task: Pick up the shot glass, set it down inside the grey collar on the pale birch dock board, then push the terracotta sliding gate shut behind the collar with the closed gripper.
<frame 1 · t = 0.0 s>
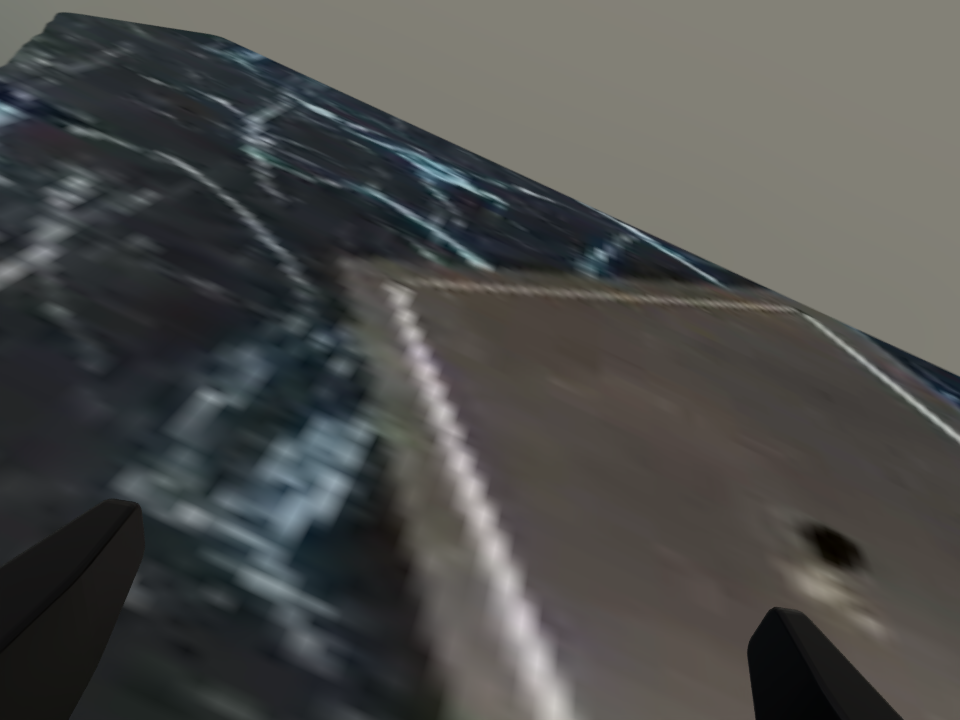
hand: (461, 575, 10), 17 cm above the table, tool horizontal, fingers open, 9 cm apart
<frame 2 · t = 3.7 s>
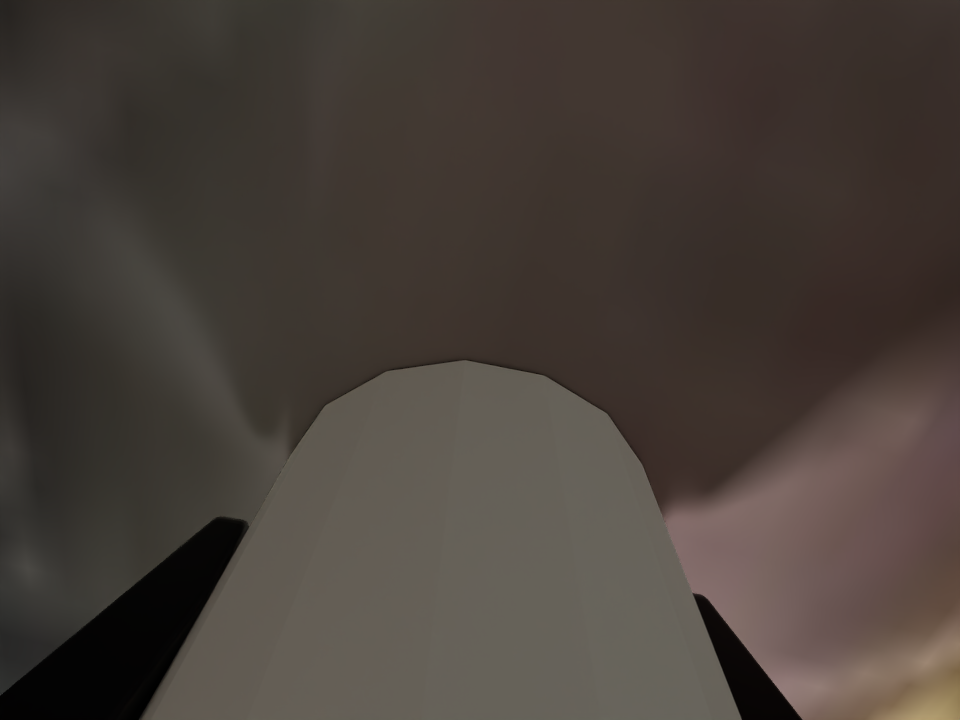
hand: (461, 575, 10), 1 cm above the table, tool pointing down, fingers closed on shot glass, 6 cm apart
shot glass: (466, 503, 11), on the table, touching gripper
when the fingers open (4 cm above the table, at t = 8.2 s): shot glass drops 2 cm, resting on dock.
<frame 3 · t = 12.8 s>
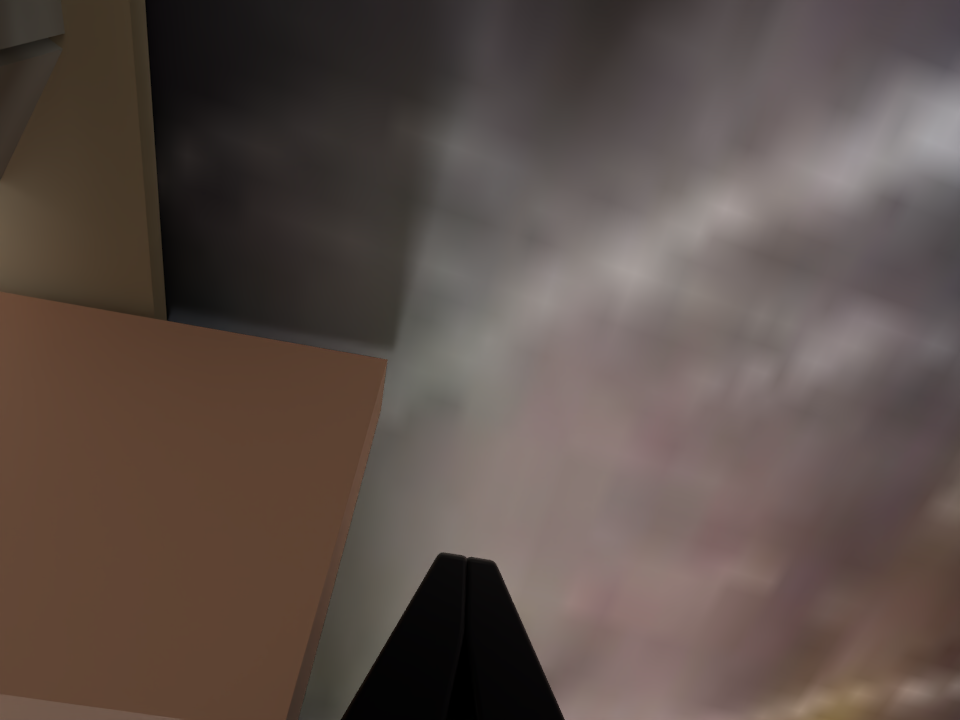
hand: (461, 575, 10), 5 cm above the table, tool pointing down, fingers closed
gate: (70, 475, 10), point 4 cm above the table, slide at 6.9 cm, touching gripper
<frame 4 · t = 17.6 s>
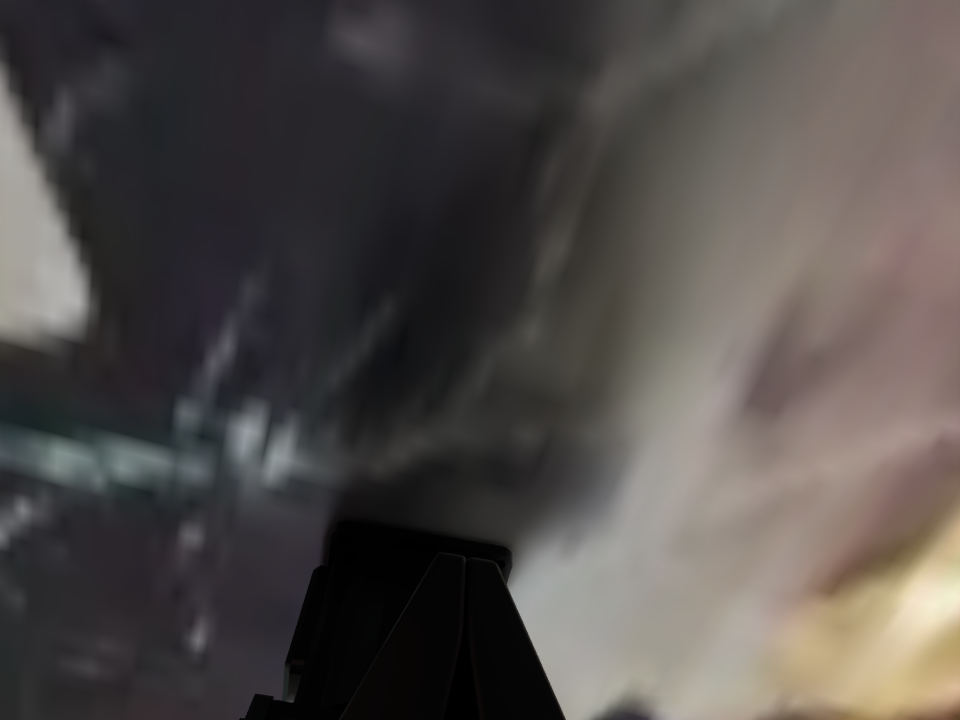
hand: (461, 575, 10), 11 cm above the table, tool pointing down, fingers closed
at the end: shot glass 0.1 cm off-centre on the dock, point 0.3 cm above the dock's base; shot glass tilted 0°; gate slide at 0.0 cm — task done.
